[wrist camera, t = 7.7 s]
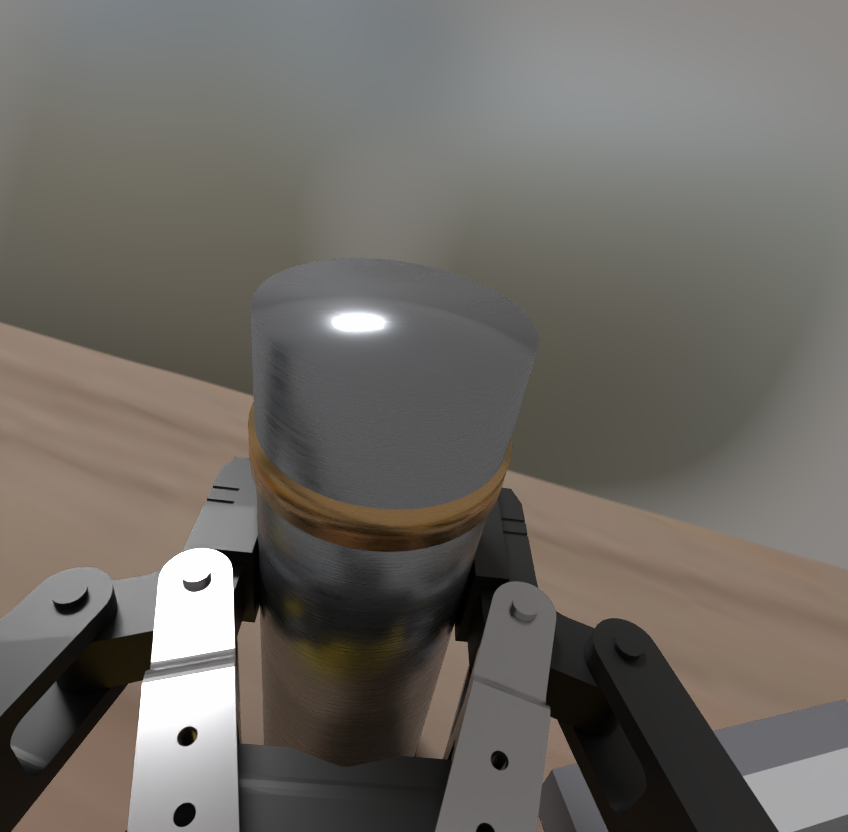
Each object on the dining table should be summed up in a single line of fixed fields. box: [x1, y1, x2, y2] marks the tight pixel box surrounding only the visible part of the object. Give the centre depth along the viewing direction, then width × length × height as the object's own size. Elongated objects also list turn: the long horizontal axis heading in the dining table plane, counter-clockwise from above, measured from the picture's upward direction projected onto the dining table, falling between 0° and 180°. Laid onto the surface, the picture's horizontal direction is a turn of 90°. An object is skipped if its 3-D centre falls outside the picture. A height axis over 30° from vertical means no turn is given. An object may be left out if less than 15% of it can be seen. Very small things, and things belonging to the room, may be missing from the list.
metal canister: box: [248, 258, 539, 767], centre depth 13 cm, size 5×5×14 cm
